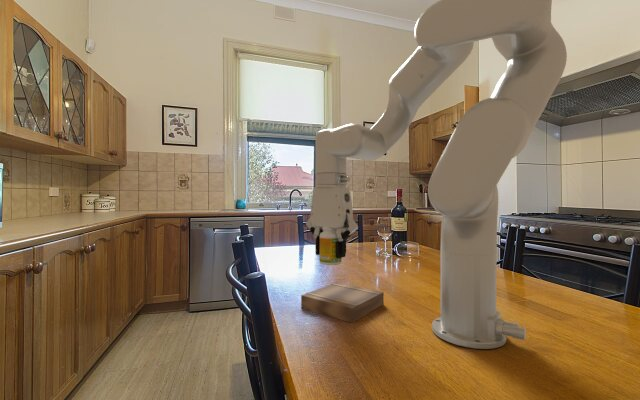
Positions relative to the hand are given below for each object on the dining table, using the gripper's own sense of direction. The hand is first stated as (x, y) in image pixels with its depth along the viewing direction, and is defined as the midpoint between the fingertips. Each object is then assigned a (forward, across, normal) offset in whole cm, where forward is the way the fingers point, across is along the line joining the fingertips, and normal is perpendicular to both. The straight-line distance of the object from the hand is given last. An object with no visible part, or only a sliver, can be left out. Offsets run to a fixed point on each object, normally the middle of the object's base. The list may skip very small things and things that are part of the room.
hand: (330, 255), depth 76 cm
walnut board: (+12, -4, 0) cm, 12 cm away
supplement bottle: (+2, 0, 0) cm, 2 cm away
